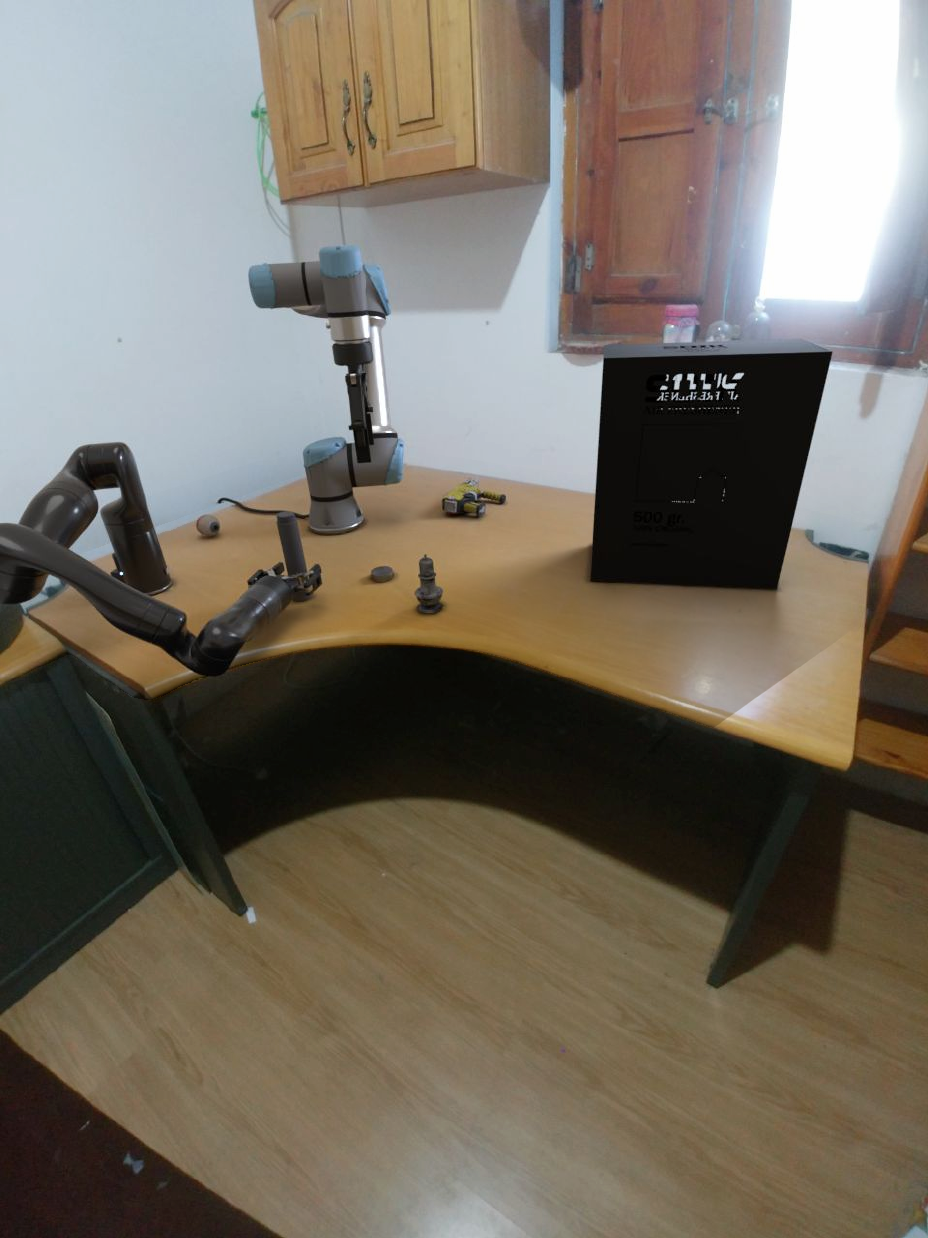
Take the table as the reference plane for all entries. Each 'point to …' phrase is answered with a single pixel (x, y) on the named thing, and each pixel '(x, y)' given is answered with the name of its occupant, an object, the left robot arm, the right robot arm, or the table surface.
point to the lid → (382, 574)
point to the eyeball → (208, 525)
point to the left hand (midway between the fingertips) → (300, 566)
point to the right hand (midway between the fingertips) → (366, 453)
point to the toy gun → (468, 499)
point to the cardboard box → (703, 460)
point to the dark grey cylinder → (292, 548)
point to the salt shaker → (428, 588)
